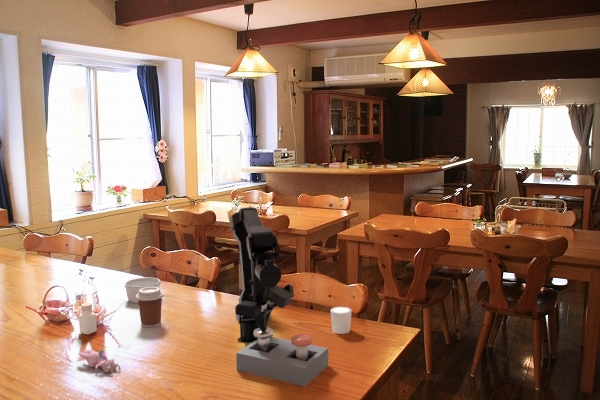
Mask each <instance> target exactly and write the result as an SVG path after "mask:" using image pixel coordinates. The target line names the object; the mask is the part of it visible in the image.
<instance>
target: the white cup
mask: <svg viewBox="0 0 600 400" xmlns="http://www.w3.org/2000/svg"><path fill="white" fill-rule="evenodd" d="M329 310H330V320H331V328H332V332H333V334H334V333H335V334H338V335H346V334H348V333H350V332H351V323H352V321H351V319H352V309H351V308H350V307H346V306H334V307H332V308H331V309H329ZM345 333H346V334H345Z"/></svg>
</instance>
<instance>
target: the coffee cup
mask: <svg viewBox="0 0 600 400" xmlns="http://www.w3.org/2000/svg"><path fill="white" fill-rule="evenodd" d="M164 296H165V295H164V292H163V291H161V287H160V288H158V287H145V288H142V289H140V290H139V293H138V294H137V295H136V299H137V300H138V303H137V304H138V309H139V310H138V311H139V316H140V317H139V318H140V325H141V327H142V328H143V327H144V328H154V327H155V328H156V327H159V326H161V324H162V300H163V299H162V298H164Z"/></svg>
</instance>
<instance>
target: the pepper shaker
mask: <svg viewBox="0 0 600 400" xmlns="http://www.w3.org/2000/svg"><path fill="white" fill-rule="evenodd" d="M78 323H79V333H80V334H83V335H87V336H88V335H91V334H94V333H95V332H97V331H98V326H97V314H96V313H95V312H93V303H91V302H86V303H82V304H81V313H80V314H79V316H78Z"/></svg>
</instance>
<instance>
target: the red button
mask: <svg viewBox="0 0 600 400" xmlns="http://www.w3.org/2000/svg"><path fill="white" fill-rule="evenodd" d="M290 341H291V343H292V344H293V345H295V346H296V359H298V360H302V361H304V360H307V359H308V345H312V343H313V337H312V336H311V335H309V334H296V335H293V336H292V337H291V338H290Z"/></svg>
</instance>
